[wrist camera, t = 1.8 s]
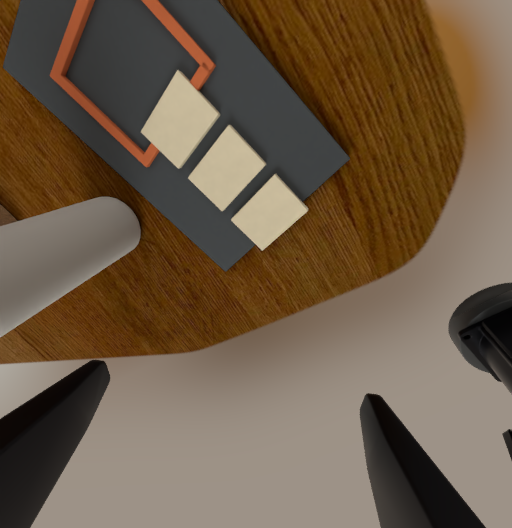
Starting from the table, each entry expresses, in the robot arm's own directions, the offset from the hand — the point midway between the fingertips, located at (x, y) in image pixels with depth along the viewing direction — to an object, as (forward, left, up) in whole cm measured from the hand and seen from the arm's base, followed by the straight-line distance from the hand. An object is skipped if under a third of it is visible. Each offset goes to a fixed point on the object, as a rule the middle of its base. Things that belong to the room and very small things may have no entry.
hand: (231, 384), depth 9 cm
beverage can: (+10, +8, -13) cm, 18 cm away
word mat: (+11, -2, -12) cm, 17 cm away
